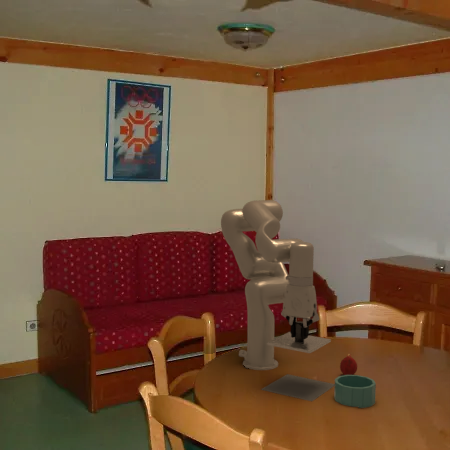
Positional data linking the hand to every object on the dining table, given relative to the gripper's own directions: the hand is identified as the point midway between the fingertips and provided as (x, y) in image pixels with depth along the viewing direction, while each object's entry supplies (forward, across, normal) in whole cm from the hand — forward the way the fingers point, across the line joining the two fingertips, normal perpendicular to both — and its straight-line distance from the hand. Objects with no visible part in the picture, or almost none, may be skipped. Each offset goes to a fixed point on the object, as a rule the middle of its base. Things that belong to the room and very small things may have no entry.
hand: (299, 337), depth 209 cm
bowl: (+17, +19, 0) cm, 26 cm away
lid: (+2, 0, 0) cm, 2 cm away
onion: (+17, +9, +19) cm, 27 cm away
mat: (+17, 0, 0) cm, 17 cm away
